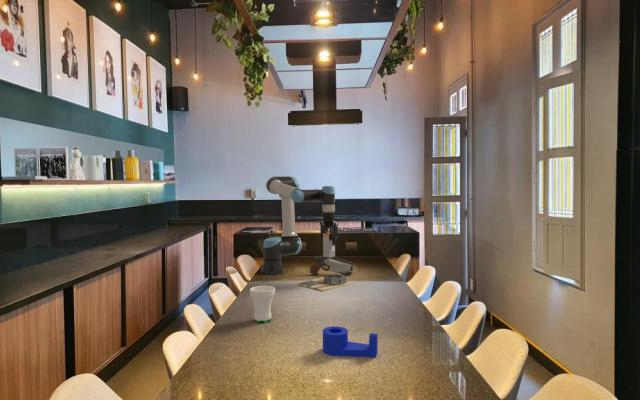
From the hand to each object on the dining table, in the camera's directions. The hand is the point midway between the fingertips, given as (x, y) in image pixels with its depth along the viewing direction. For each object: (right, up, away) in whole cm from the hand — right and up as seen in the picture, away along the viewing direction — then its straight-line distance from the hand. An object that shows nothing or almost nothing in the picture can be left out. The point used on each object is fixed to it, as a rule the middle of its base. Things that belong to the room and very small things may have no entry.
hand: (329, 250), depth 257 cm
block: (0, -4, 0) cm, 4 cm away
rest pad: (-11, -19, -4) cm, 22 cm away
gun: (+2, -19, +23) cm, 30 cm away
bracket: (+5, -25, -103) cm, 106 cm away
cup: (-31, -23, -68) cm, 79 cm away
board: (-2, -20, -2) cm, 20 cm away
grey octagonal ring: (+3, -19, -1) cm, 19 cm away
